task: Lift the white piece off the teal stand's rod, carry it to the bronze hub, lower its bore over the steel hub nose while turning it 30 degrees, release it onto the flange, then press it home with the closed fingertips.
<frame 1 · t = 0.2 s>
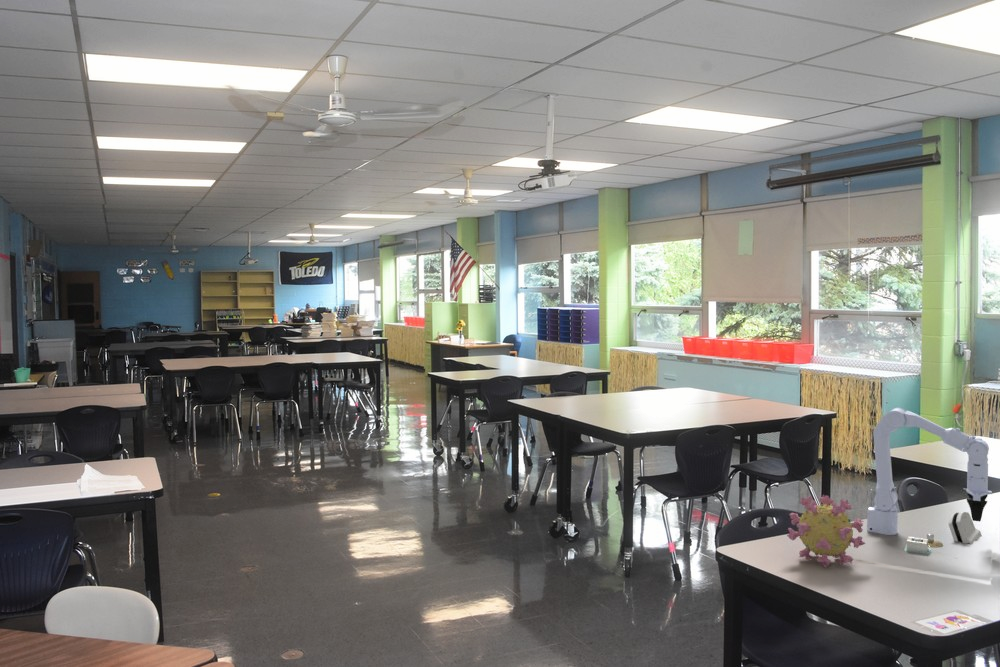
hand: (976, 518, 249), 10 cm above the table, tool pointing down, fingers open, 7 cm apart
white piece: (917, 549, 246), point 1 cm above the table, touching stand
educational model: (825, 562, 238), on the table
stand: (917, 551, 246), resting on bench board
hub: (930, 545, 252), resting on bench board
hinge: (964, 540, 259), on the table
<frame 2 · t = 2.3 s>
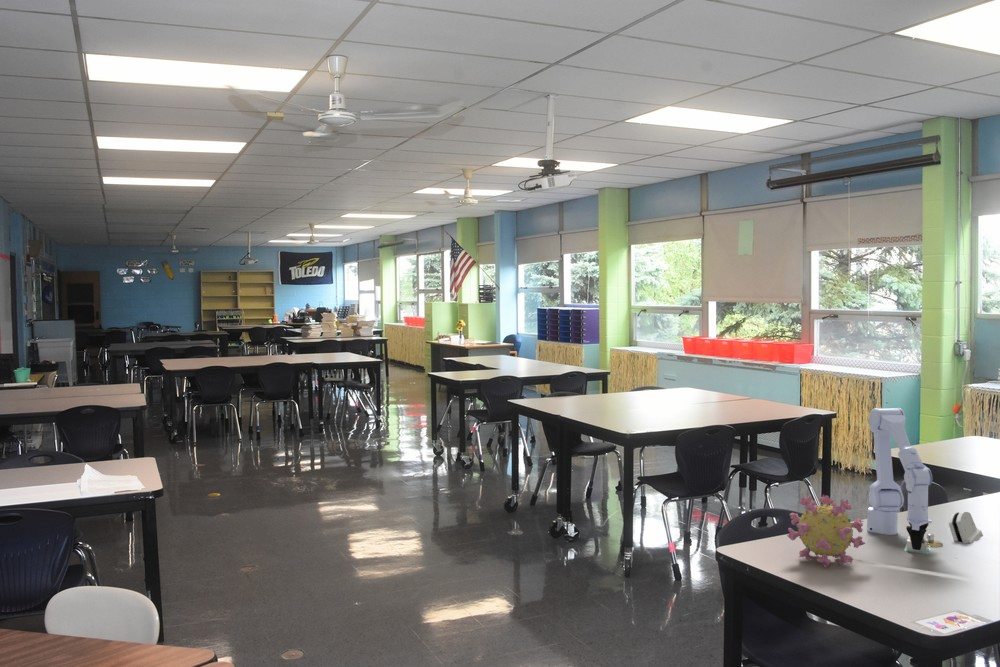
hand: (917, 546, 246), 2 cm above the table, tool pointing down, fingers closed on white piece, 6 cm apart
white piece: (917, 549, 246), point 1 cm above the table, touching gripper, stand
everything else where it was.
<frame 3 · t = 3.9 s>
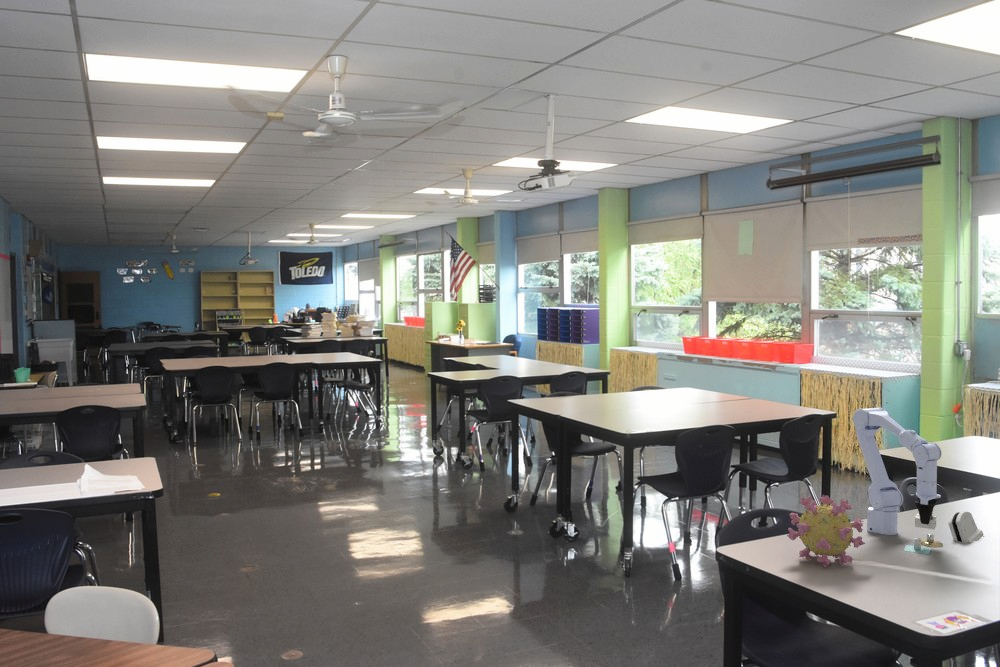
hand: (926, 521, 249), 9 cm above the table, tool pointing down, fingers closed on white piece, 6 cm apart
white piece: (925, 526, 250), point 7 cm above the table, touching gripper
everything else where it was.
when the fingers open (3 cm above the table, at t = 5.6 s): white piece stays where it is, resting on hub.
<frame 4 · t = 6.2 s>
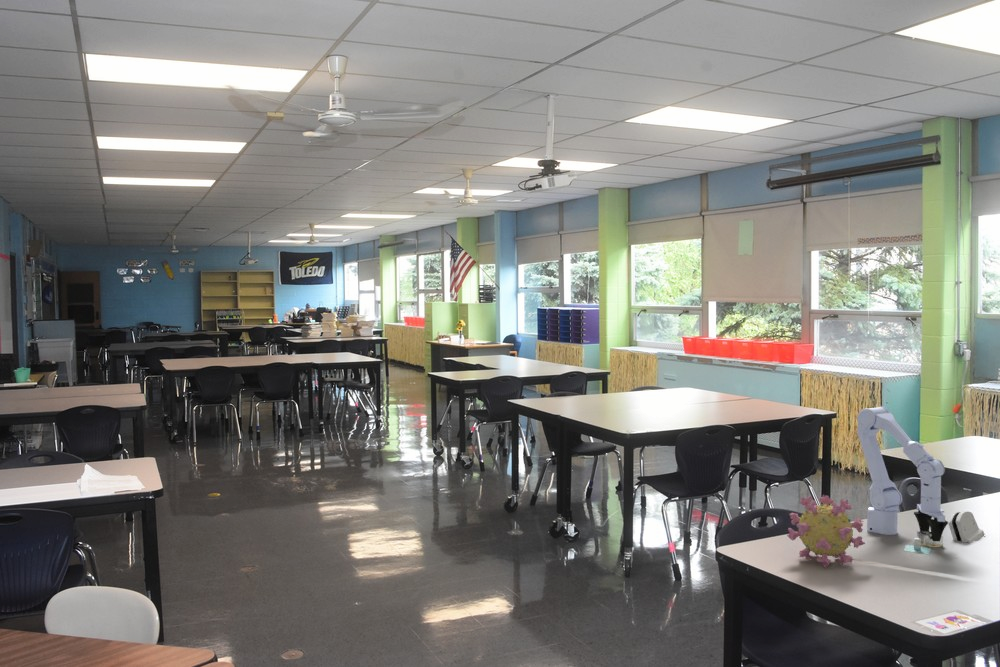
hand: (930, 537, 252), 3 cm above the table, tool pointing down, fingers open, 7 cm apart
white piece: (929, 542, 252), point 1 cm above the table, touching hub
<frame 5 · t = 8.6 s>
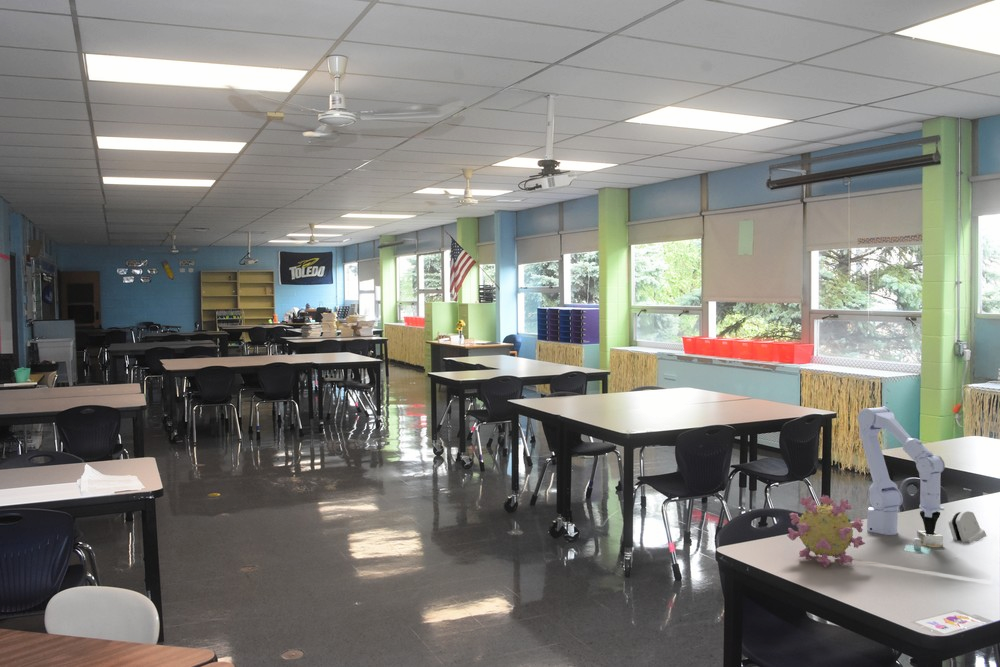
hand: (929, 534, 250), 5 cm above the table, tool pointing down, fingers closed
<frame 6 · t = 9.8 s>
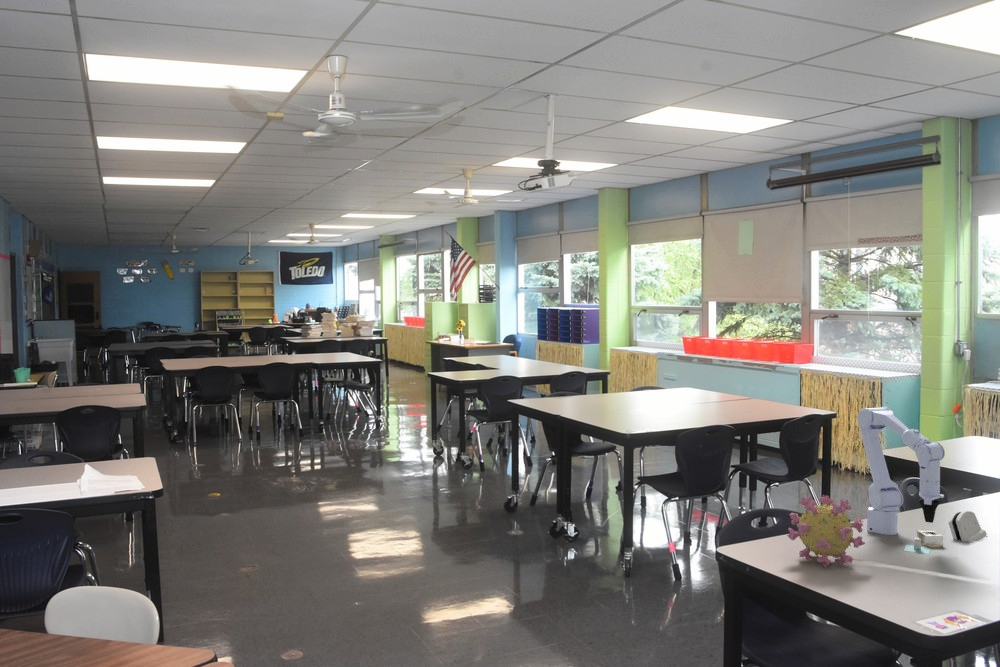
hand: (929, 521, 247), 9 cm above the table, tool pointing down, fingers closed
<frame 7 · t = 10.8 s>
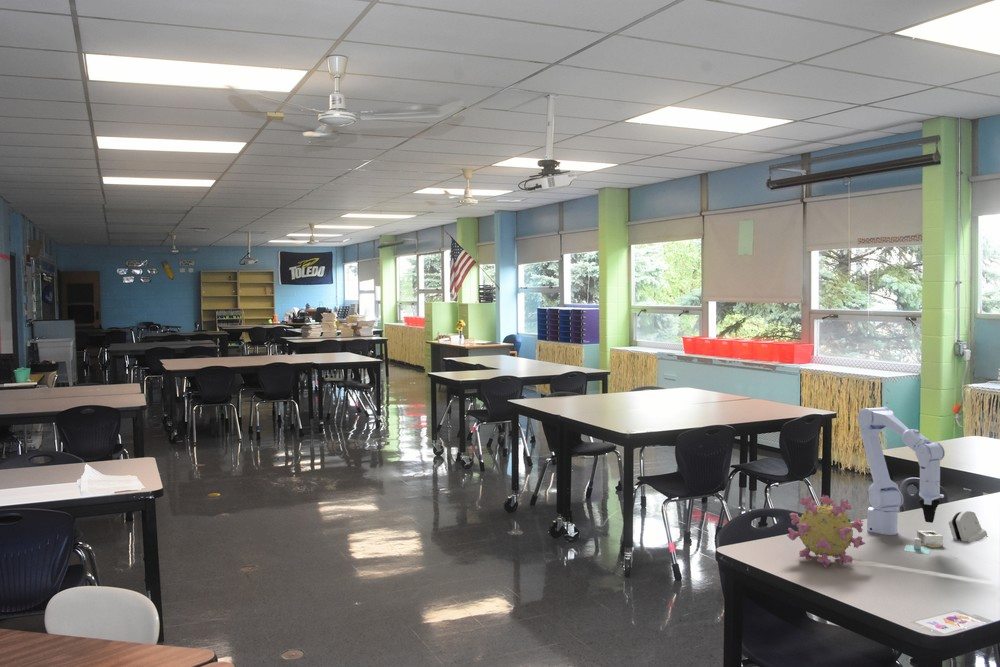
hand: (929, 521, 247), 9 cm above the table, tool pointing down, fingers closed
at the end: white piece 0.1 cm off-centre on the hub, point 1.0 cm above the hub's base; white piece tilted 0°; the gripper is holding nothing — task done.
